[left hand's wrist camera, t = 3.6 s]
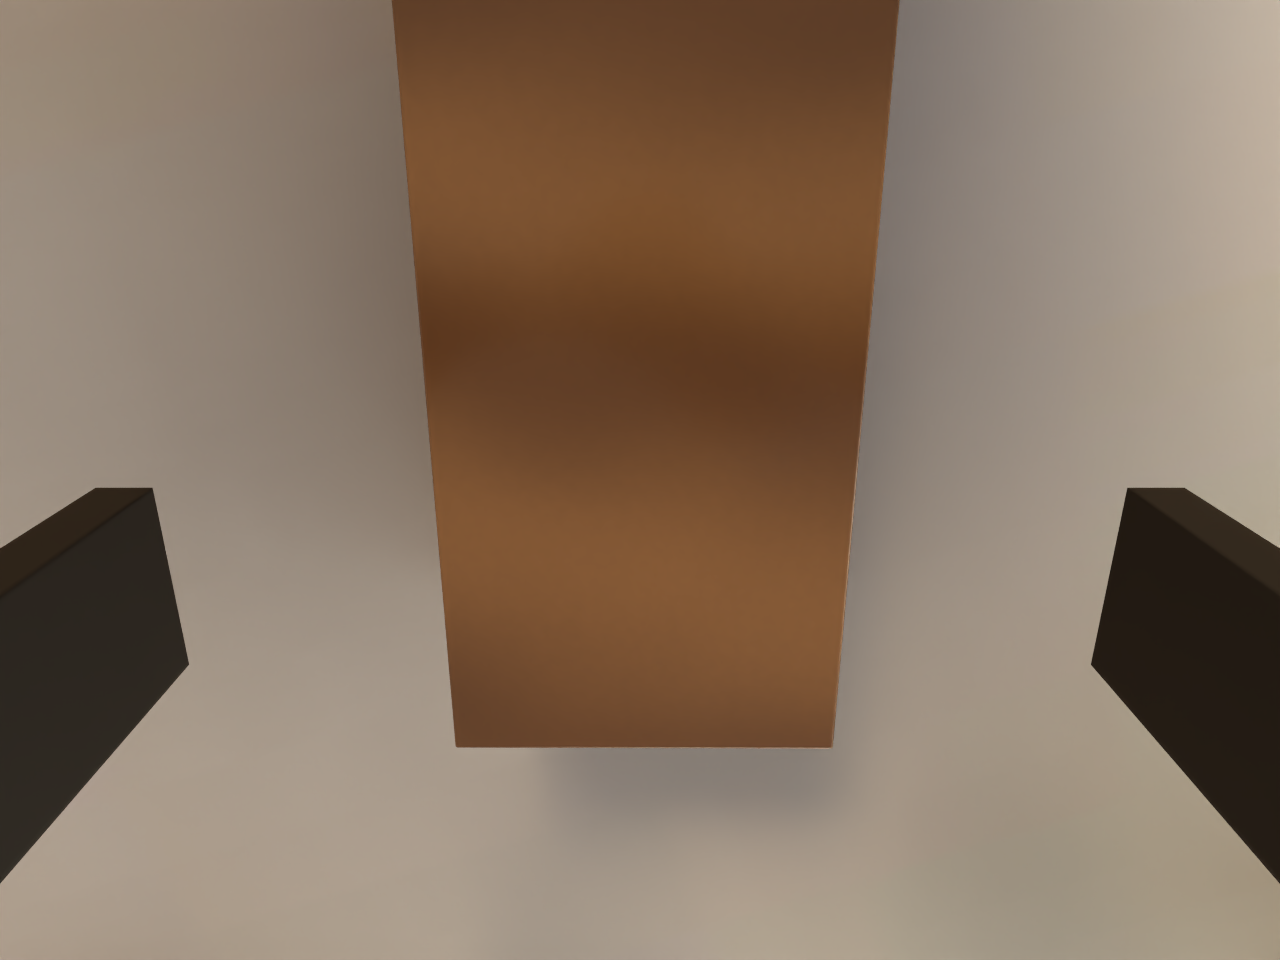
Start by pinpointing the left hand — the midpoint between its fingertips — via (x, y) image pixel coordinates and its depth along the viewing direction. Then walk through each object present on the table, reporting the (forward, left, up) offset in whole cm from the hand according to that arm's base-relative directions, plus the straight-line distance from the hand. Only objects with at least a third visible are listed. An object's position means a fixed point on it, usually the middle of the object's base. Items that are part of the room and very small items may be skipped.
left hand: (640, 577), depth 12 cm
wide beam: (+17, -8, -14) cm, 23 cm away
